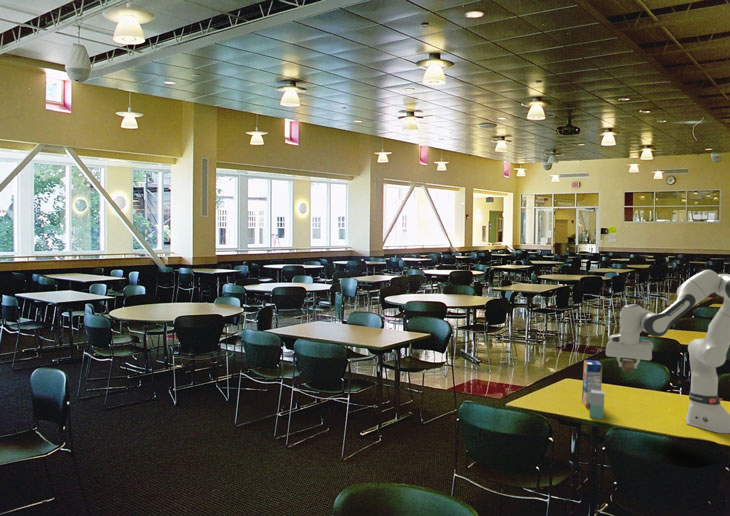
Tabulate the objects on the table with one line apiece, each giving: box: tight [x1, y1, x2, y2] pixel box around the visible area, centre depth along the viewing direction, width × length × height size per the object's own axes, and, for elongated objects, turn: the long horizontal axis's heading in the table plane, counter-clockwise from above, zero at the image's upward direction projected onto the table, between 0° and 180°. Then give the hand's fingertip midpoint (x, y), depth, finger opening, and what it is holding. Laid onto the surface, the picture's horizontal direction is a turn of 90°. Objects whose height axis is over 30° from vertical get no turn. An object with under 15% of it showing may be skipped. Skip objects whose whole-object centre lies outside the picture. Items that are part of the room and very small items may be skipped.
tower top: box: [590, 390, 605, 407], centre depth 297 cm, size 6×6×6 cm
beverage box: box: [581, 359, 603, 409], centre depth 316 cm, size 7×11×22 cm, turn 171°
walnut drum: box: [621, 358, 635, 373], centre depth 293 cm, size 5×5×5 cm
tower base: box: [589, 405, 605, 420], centre depth 297 cm, size 6×6×6 cm
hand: (627, 367), depth 293 cm, fingers closed on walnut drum, 5 cm apart
